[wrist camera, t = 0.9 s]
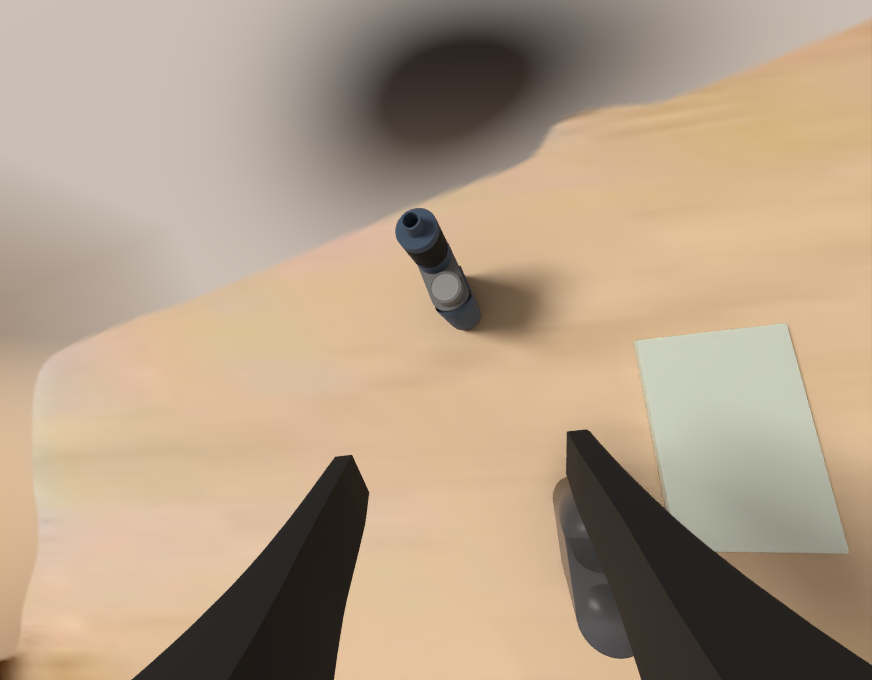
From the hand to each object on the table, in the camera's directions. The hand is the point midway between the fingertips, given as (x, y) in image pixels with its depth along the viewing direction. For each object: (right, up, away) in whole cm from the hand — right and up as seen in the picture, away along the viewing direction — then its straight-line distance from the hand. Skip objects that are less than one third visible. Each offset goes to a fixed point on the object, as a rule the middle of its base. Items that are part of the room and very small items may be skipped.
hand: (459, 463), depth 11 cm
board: (+19, -2, +11) cm, 22 cm away
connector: (+10, -9, +12) cm, 18 cm away
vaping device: (+1, +7, +17) cm, 18 cm away
